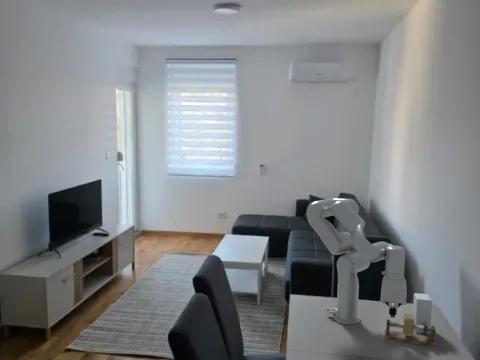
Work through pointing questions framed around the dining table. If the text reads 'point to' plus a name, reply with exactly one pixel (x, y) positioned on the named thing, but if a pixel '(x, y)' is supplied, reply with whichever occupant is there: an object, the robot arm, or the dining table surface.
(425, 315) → the skincare box
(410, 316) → the yellow rectangular block
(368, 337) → the dining table surface
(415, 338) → the rod stand
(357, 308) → the robot arm
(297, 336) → the dining table surface
